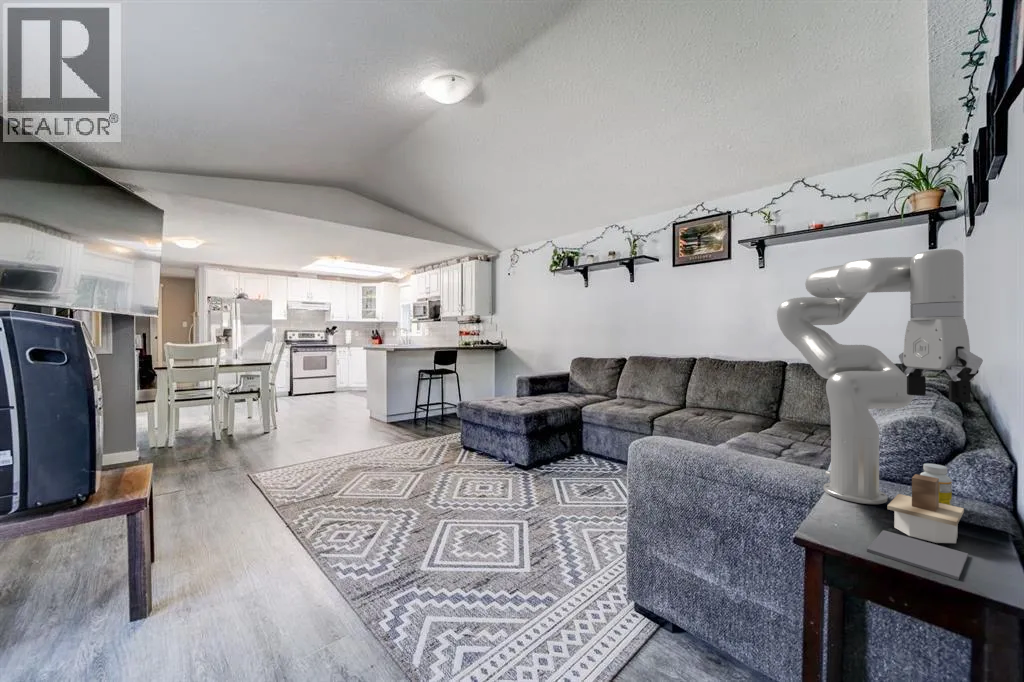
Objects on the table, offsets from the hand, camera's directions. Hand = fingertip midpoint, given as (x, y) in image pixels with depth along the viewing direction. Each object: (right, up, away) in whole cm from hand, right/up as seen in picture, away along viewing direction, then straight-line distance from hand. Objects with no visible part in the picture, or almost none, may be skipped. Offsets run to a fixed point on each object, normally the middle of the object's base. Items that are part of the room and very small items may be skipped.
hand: (936, 398), depth 84 cm
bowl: (+1, -28, +3) cm, 28 cm away
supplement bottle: (+16, -28, +16) cm, 36 cm away
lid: (0, -24, +3) cm, 24 cm away
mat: (-9, -28, -5) cm, 30 cm away
